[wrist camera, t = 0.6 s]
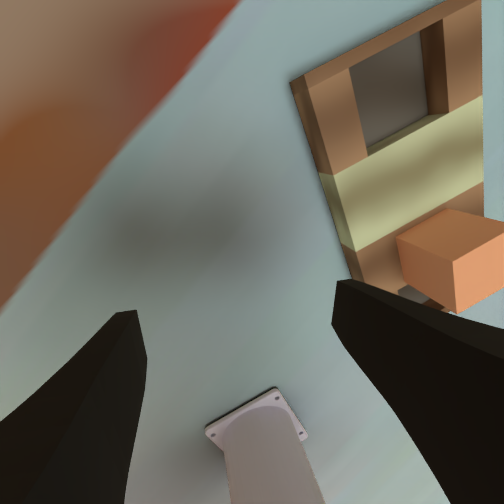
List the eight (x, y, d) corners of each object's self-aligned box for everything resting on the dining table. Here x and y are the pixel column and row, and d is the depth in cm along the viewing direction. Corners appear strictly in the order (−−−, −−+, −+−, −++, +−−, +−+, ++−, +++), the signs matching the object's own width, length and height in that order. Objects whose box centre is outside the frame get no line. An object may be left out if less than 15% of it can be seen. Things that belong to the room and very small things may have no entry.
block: (450, 255, 21) (513, 281, 17) (404, 281, 21) (456, 314, 17) (446, 208, 19) (516, 225, 15) (395, 236, 19) (452, 261, 15)
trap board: (463, 280, 26) (484, 291, 24) (370, 334, 26) (384, 349, 24) (447, 0, 16) (481, -18, 14) (289, 82, 15) (304, 74, 13)
